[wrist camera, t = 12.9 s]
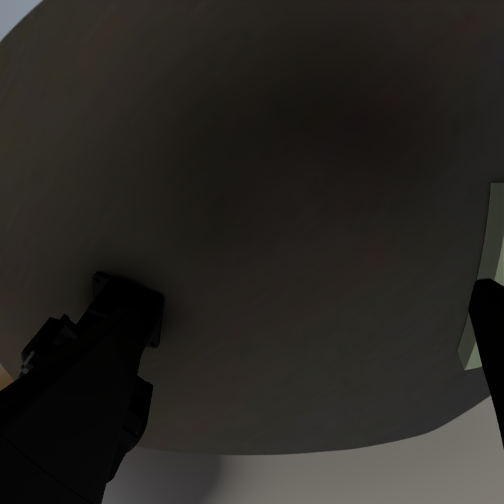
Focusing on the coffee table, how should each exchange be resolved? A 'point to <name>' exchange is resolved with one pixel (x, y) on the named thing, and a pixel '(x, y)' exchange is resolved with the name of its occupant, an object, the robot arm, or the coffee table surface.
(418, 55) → the coffee table surface
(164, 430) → the coffee table surface
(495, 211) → the sage board
